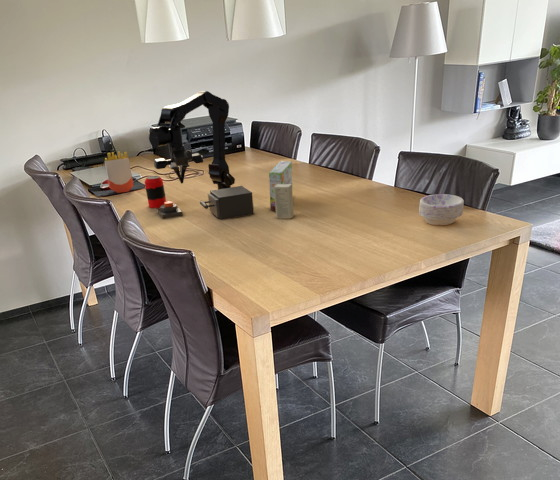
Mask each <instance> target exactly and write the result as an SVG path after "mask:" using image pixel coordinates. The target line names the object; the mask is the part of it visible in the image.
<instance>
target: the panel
mask: <svg viewBox="0 0 560 480" xmlns="http://www.w3.org/2000/svg"><path fill="white" fill-rule="evenodd" d="M157 213H158V214H159V216H160V217H161V218H162V220H165V219H171V218H176V217H177V218H178V217H182V216H183V212H182V210H181V209H180V208H179V207H178V204H176V203H173V206H172V207H164V205H162V206H161V208H157Z"/></svg>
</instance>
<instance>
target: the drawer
mask: <svg viewBox="0 0 560 480" xmlns="http://www.w3.org/2000/svg"><path fill="white" fill-rule="evenodd" d="M207 198H208V200H207V201H204V200H200V201H199V204H200V206H202V207H203V208H204V209H205V210H207V209H209V211H210V212H211V213H212V215H214V216H215V217H216V218H217V219H220V218H219V217H220V208H219V199H217V198H216V197H214V196H213V195H212V194H211V193H210V192H209V193H207Z"/></svg>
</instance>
